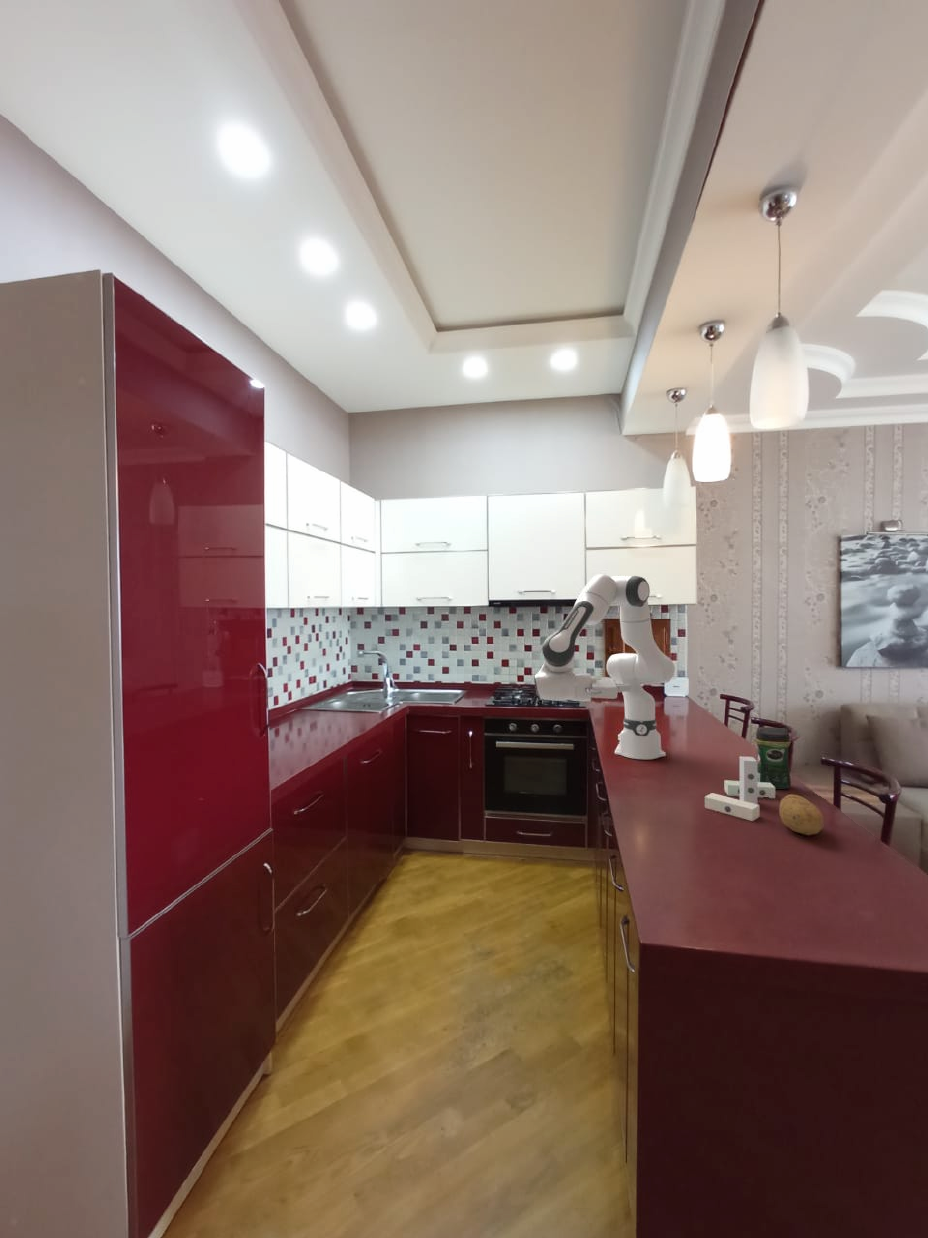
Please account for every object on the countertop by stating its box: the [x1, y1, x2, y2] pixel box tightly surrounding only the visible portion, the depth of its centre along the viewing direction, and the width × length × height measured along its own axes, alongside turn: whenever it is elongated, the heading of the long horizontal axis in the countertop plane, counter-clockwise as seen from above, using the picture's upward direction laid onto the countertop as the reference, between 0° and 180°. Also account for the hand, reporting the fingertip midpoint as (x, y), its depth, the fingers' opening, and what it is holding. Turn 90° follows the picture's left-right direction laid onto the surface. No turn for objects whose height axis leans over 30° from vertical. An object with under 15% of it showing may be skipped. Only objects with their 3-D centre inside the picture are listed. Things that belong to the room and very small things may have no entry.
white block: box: [723, 779, 776, 799], centre depth 166 cm, size 5×4×13 cm
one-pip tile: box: [704, 792, 760, 822], centre depth 152 cm, size 5×4×13 cm
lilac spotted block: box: [739, 756, 758, 805], centre depth 158 cm, size 5×4×13 cm
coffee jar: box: [755, 726, 792, 790], centre depth 172 cm, size 10×8×19 cm
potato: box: [778, 794, 825, 837], centre depth 138 cm, size 10×14×8 cm
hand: (630, 688), depth 171 cm, fingers closed
